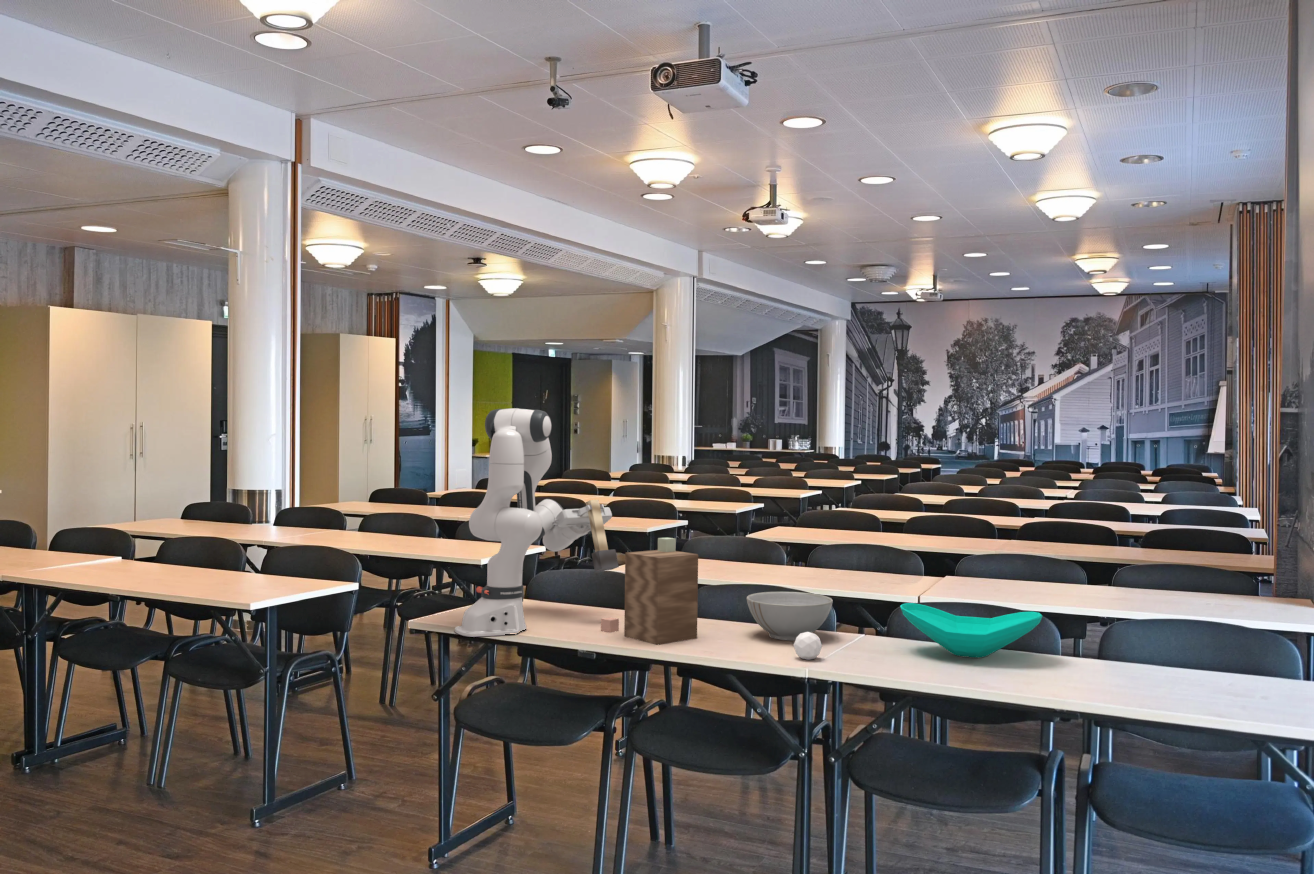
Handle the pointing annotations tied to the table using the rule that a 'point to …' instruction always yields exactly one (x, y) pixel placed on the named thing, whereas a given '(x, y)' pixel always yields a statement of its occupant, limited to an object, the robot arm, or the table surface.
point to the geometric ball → (807, 645)
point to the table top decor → (970, 629)
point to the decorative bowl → (789, 612)
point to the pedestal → (661, 596)
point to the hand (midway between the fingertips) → (596, 506)
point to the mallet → (600, 540)
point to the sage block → (666, 544)
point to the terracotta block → (609, 624)
